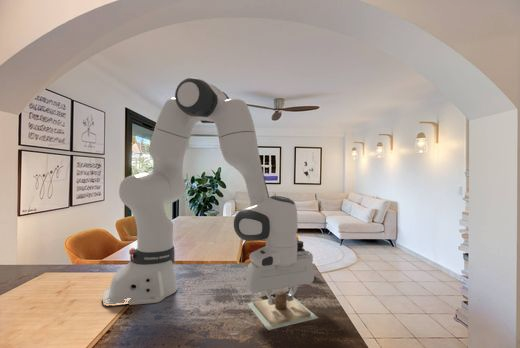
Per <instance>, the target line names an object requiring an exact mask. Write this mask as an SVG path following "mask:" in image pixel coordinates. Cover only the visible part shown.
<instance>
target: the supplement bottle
mask: <svg viewBox="0 0 520 348" xmlns="http://www.w3.org/2000/svg"><path fill="white" fill-rule="evenodd" d="M303 251H306V250H305V248H304V241H303V240H297V252H303Z"/></svg>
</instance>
